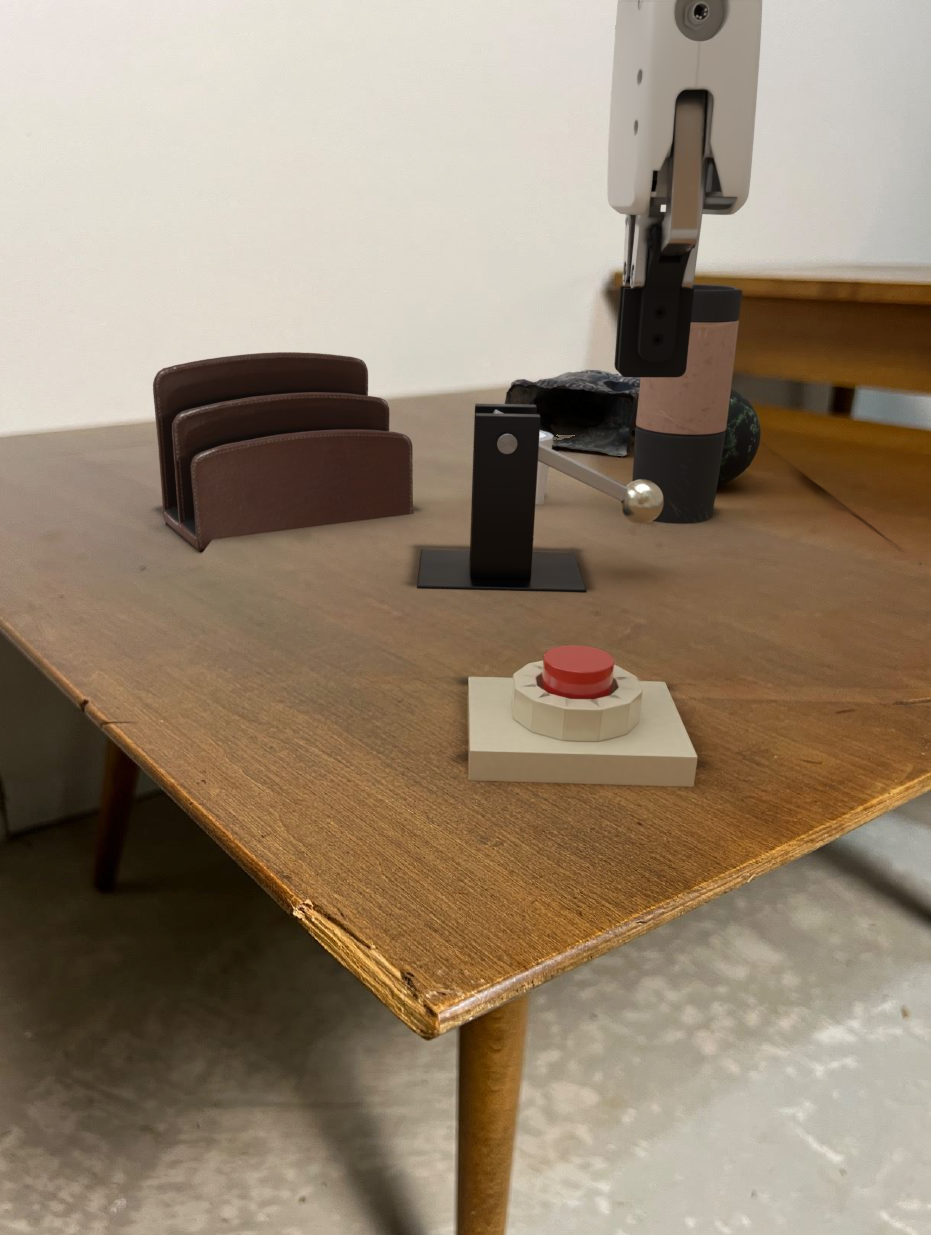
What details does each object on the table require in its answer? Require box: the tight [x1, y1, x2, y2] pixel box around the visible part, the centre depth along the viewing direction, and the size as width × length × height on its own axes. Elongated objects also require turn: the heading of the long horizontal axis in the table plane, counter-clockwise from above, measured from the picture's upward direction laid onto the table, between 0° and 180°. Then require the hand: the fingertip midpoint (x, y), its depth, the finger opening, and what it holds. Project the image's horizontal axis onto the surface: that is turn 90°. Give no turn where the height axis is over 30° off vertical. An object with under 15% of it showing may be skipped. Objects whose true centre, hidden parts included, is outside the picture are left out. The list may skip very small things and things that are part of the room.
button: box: [541, 644, 615, 699], centre depth 55 cm, size 4×4×2 cm
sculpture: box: [504, 369, 641, 457], centre depth 135 cm, size 8×16×30 cm
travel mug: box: [631, 283, 744, 525], centre depth 92 cm, size 8×8×20 cm
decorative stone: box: [717, 388, 762, 487], centre depth 108 cm, size 10×10×10 cm
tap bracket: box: [416, 403, 587, 594], centre depth 78 cm, size 12×9×13 cm
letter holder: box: [152, 351, 415, 552], centre depth 91 cm, size 10×20×14 cm, turn 118°
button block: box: [466, 659, 699, 788], centre depth 56 cm, size 11×9×4 cm
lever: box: [493, 410, 664, 525], centre depth 76 cm, size 14×3×3 cm, turn 88°
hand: (649, 373), depth 52 cm, fingers closed
